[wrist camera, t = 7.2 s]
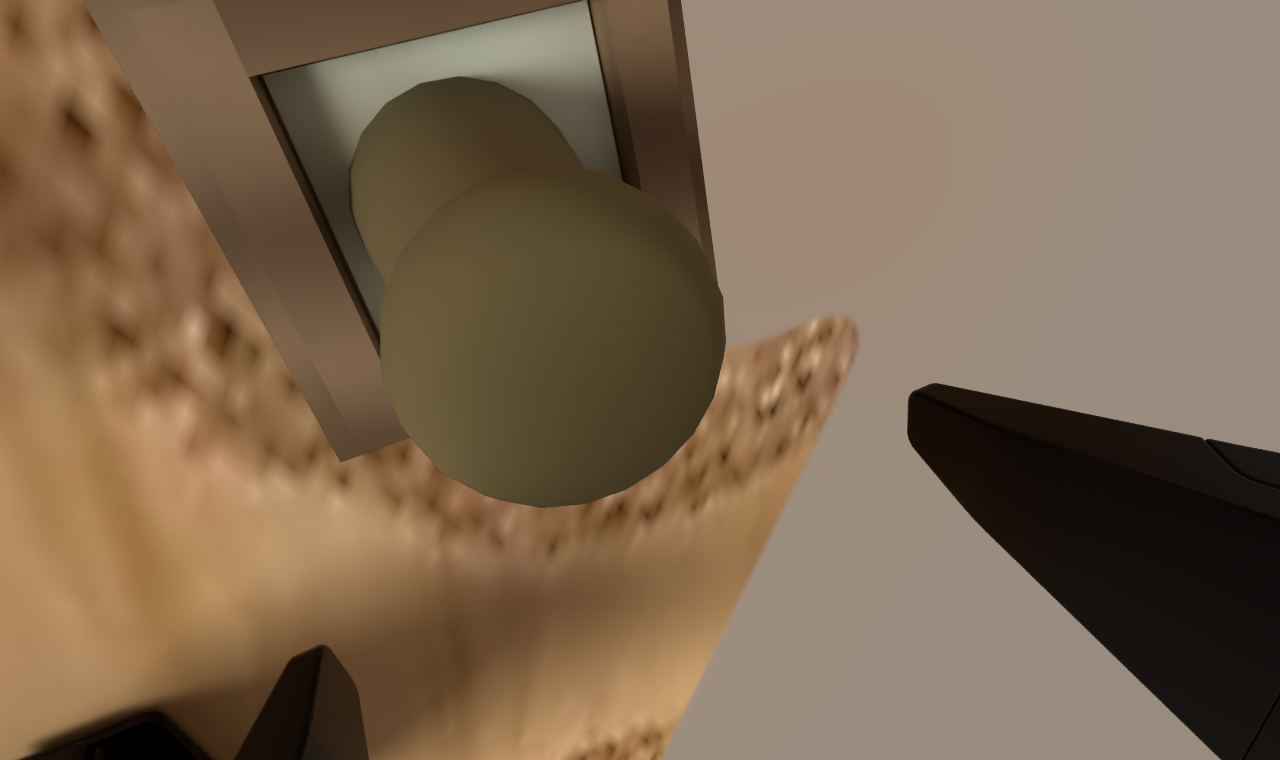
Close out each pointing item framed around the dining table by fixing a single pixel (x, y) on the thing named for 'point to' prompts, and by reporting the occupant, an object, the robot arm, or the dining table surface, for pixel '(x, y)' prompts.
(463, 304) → the olive bulb-ended cylinder
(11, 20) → the dining table surface
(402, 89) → the brown picture frame
